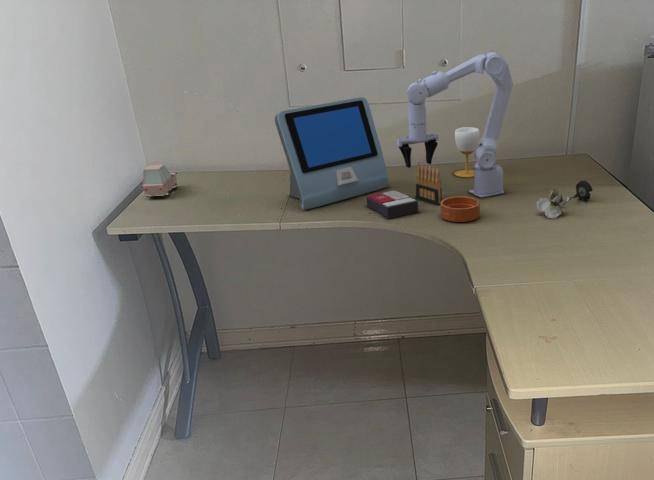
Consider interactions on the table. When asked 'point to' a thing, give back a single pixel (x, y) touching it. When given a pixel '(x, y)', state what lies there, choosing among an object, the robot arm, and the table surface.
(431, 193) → the ammunition clip
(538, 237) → the table surface
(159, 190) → the toy car
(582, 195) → the artificial flower
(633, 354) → the table surface
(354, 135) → the touchscreen device
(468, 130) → the cup
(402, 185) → the table surface
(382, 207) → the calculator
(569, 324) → the table surface
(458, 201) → the bowl
